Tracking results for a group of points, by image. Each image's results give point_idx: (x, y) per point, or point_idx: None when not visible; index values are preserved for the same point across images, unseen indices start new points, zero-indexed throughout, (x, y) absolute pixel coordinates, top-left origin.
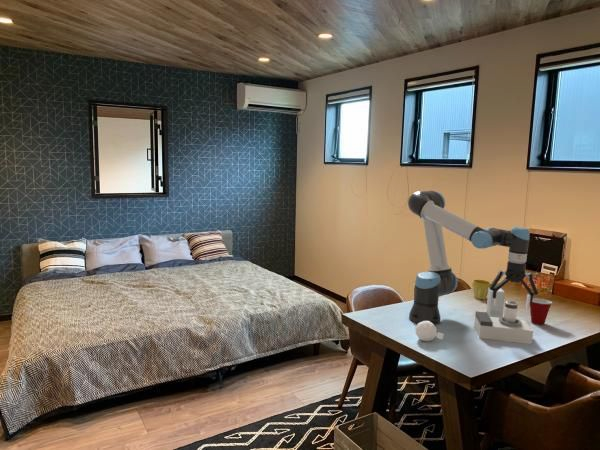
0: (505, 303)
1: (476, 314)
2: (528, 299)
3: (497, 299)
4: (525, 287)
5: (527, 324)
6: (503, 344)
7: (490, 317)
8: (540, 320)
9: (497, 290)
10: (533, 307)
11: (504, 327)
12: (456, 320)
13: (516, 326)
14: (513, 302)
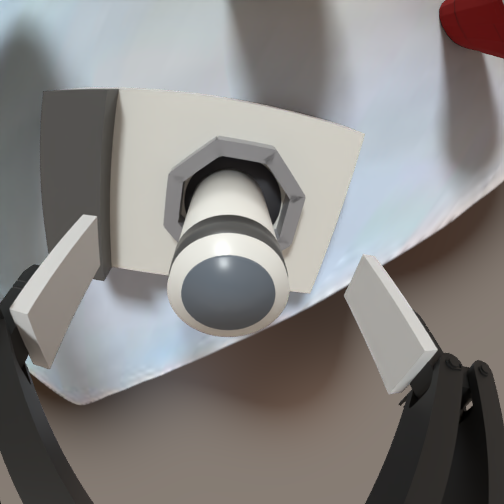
0: (168, 277)
1: (45, 129)
2: (375, 362)
3: (76, 308)
4: (379, 478)
5: (339, 205)
6: None
7: (140, 104)
8: (470, 46)
9: (29, 382)
10: (489, 18)
11: None
12: (44, 21)
13: None
14: (242, 309)
